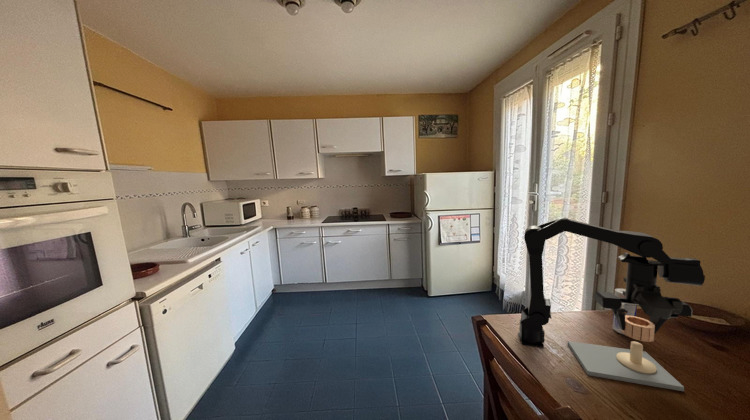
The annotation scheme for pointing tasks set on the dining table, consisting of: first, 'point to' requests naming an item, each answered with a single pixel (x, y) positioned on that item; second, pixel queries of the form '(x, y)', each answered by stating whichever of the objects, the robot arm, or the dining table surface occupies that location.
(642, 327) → the wooden slatted ring
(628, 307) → the beverage can
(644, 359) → the bobbin board
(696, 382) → the dining table surface
